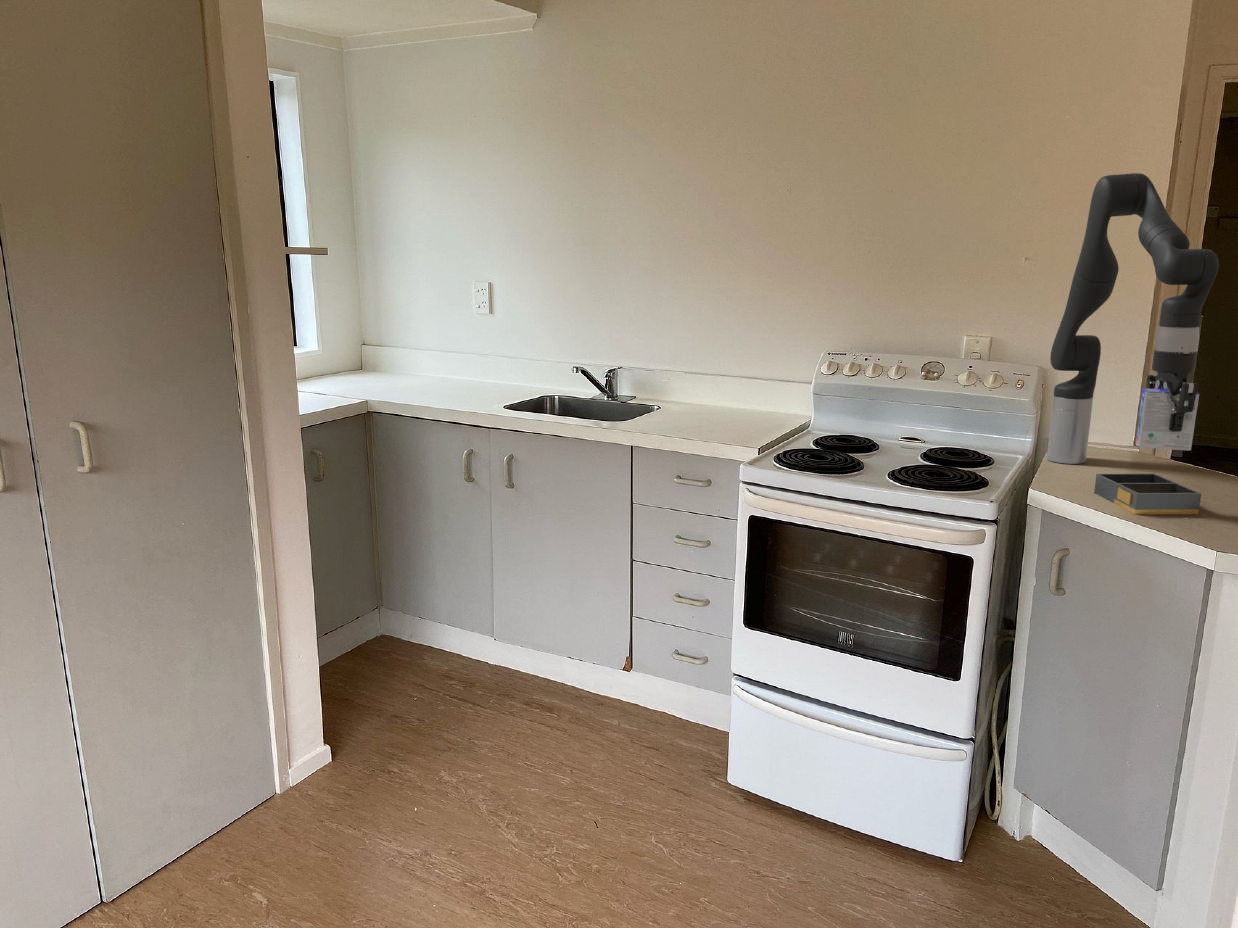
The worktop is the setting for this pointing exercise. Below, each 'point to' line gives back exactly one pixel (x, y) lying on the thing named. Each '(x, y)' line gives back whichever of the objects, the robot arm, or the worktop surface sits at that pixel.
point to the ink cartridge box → (1163, 422)
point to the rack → (1147, 494)
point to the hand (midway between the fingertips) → (1165, 427)
